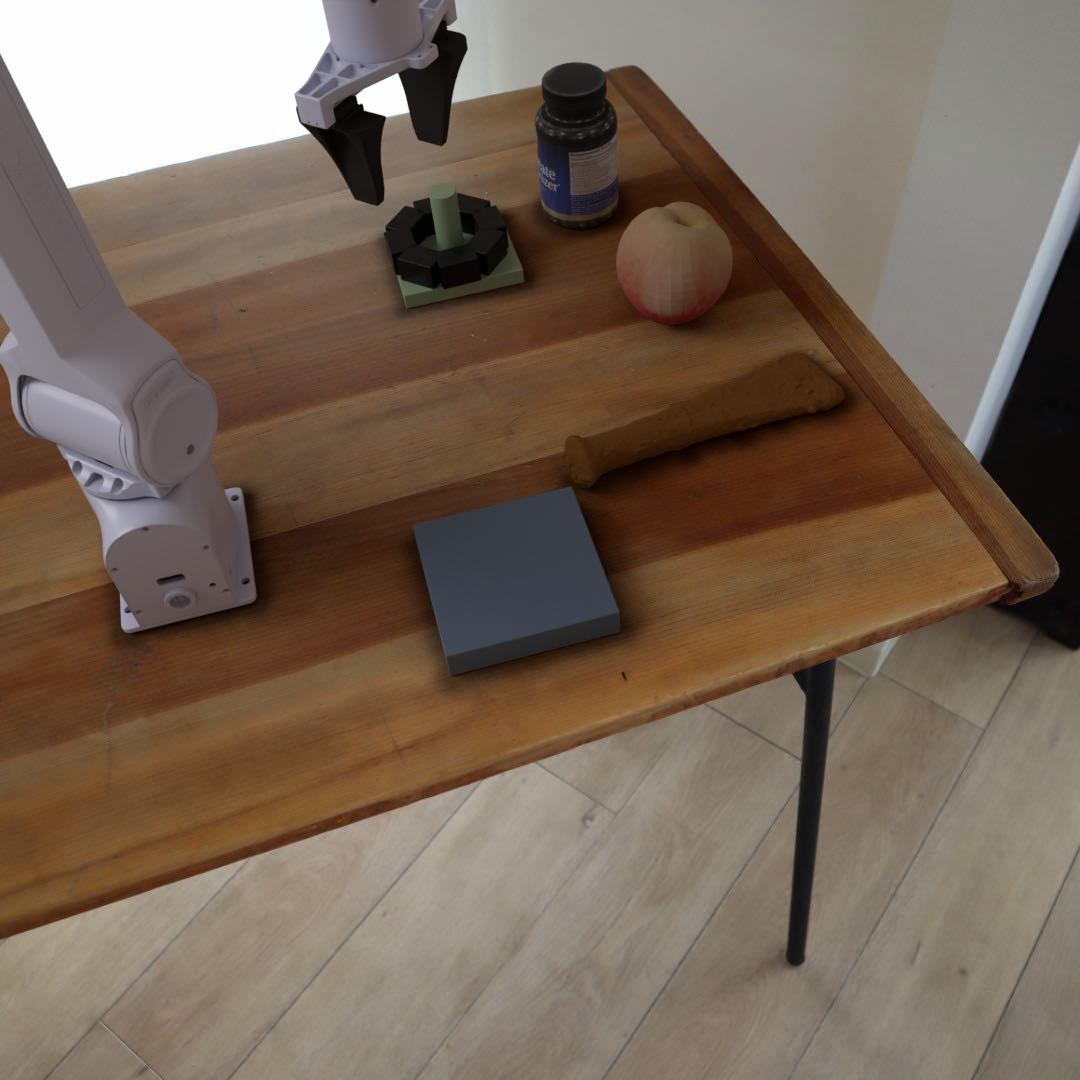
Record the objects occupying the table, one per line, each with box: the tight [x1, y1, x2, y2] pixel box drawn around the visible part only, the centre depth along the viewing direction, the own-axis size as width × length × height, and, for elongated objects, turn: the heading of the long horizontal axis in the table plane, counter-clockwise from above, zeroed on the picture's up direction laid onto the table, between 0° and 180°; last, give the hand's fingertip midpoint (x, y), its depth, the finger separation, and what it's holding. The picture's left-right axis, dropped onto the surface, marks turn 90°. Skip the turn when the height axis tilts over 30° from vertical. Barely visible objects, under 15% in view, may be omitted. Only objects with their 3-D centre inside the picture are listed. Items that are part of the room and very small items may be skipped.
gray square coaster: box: [412, 485, 621, 677], centre depth 69 cm, size 10×10×2 cm
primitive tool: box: [563, 352, 845, 489], centre depth 75 cm, size 19×6×4 cm, turn 119°
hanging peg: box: [383, 182, 525, 309], centre depth 88 cm, size 9×9×6 cm
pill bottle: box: [534, 61, 620, 229], centre depth 89 cm, size 6×6×11 cm
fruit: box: [615, 200, 734, 326], centre depth 82 cm, size 8×8×8 cm
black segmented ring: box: [383, 192, 509, 289], centre depth 88 cm, size 9×9×2 cm
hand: (401, 169), depth 80 cm, fingers open, 7 cm apart
